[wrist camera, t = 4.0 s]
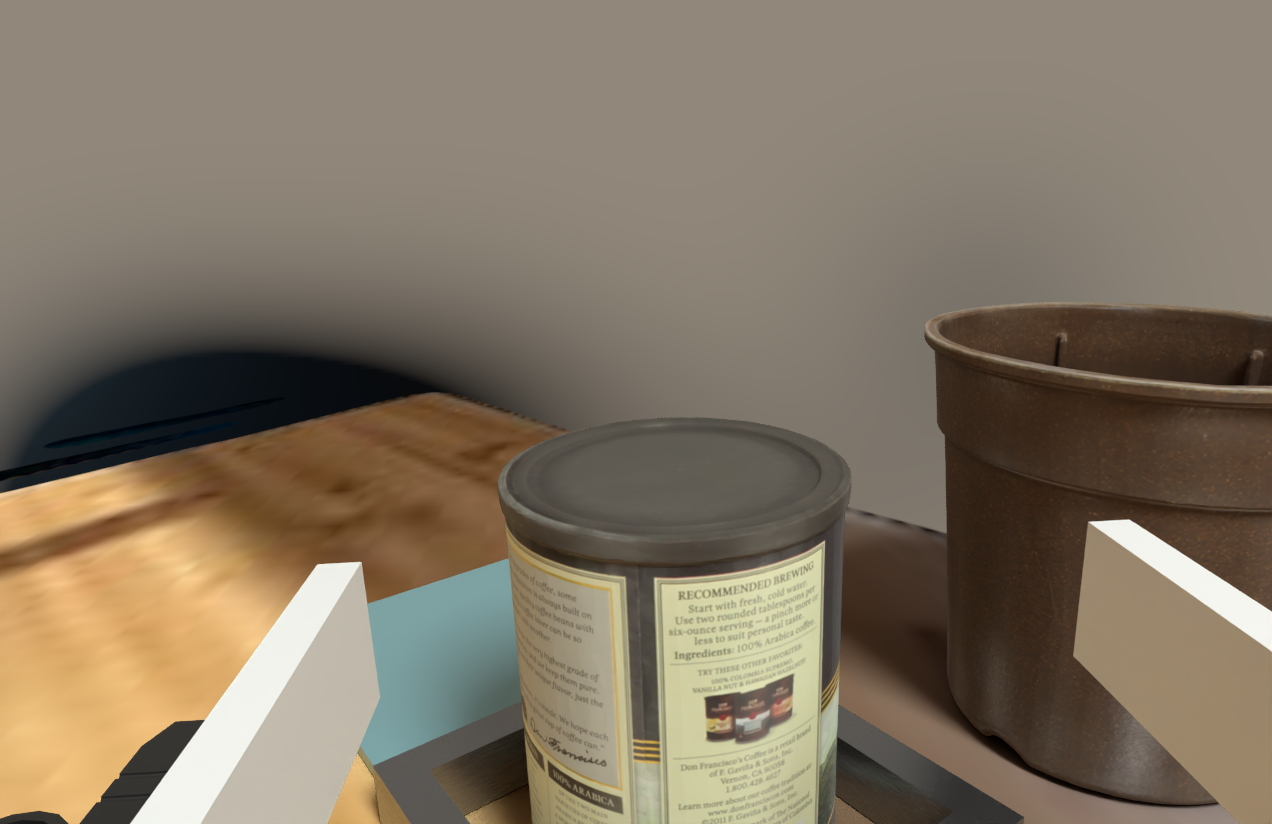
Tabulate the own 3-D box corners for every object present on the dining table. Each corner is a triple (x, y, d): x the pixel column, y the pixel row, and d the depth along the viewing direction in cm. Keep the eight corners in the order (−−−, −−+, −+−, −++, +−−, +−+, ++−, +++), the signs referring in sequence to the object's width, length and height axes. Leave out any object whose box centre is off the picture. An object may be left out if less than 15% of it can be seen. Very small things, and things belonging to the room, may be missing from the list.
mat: (386, 795, 32) (384, 782, 32) (285, 641, 43) (283, 631, 43) (674, 663, 40) (674, 652, 40) (527, 561, 51) (526, 552, 51)
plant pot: (1208, 616, 43) (1265, 296, 38) (1475, 873, 27) (1622, 385, 23) (876, 606, 45) (892, 300, 40) (949, 841, 29) (988, 386, 25)
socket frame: (631, 1232, 19) (627, 1150, 18) (380, 824, 31) (372, 765, 30) (1016, 881, 27) (1024, 817, 27) (703, 670, 39) (703, 622, 39)
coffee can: (666, 719, 36) (658, 399, 32) (892, 842, 29) (916, 453, 25) (467, 862, 29) (425, 473, 25) (702, 1069, 22) (696, 577, 18)
